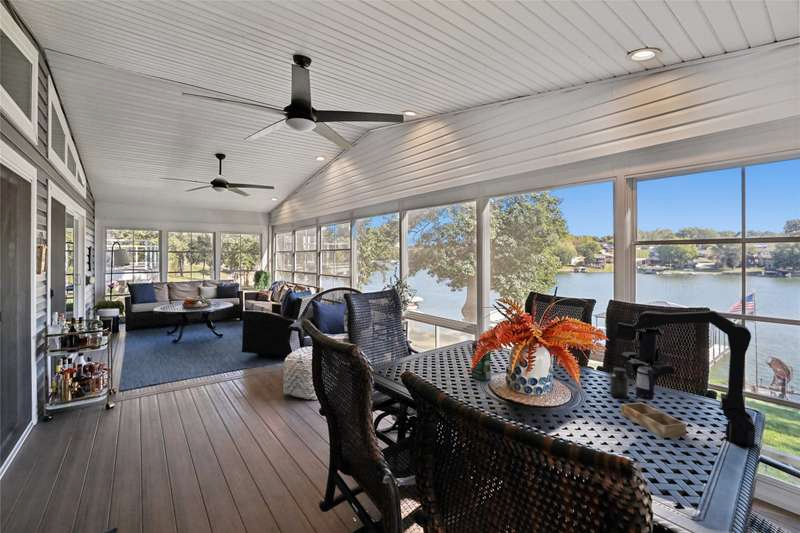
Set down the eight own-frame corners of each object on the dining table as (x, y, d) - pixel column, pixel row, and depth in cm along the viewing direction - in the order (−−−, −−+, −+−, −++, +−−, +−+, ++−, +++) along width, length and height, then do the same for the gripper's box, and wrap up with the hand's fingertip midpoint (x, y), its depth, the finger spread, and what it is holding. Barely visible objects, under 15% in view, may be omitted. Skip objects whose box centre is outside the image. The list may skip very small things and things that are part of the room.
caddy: (686, 434, 128) (687, 423, 128) (662, 437, 126) (663, 426, 126) (641, 412, 146) (642, 402, 146) (620, 414, 144) (620, 404, 144)
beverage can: (656, 402, 137) (657, 371, 136) (639, 401, 138) (640, 370, 137) (649, 396, 142) (651, 366, 142) (633, 395, 144) (634, 365, 143)
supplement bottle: (608, 391, 167) (609, 365, 166) (625, 393, 164) (626, 367, 164) (611, 397, 160) (612, 370, 160) (629, 399, 158) (630, 372, 157)
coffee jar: (468, 376, 186) (469, 340, 185) (480, 373, 190) (480, 338, 189) (481, 382, 177) (482, 344, 176) (493, 379, 181) (494, 342, 180)
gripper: (688, 350, 132) (685, 392, 132) (644, 337, 150) (642, 374, 151) (662, 351, 129) (660, 394, 130) (621, 338, 148) (619, 376, 148)
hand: (645, 384), depth 140 cm, fingers closed on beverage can, 6 cm apart
